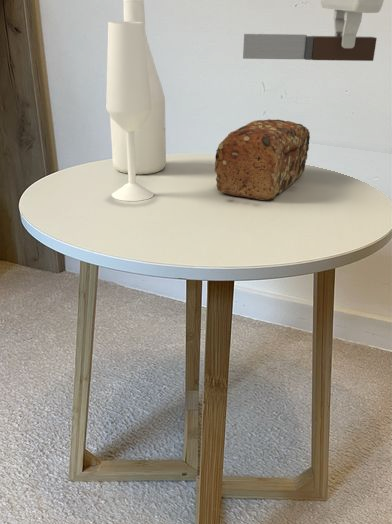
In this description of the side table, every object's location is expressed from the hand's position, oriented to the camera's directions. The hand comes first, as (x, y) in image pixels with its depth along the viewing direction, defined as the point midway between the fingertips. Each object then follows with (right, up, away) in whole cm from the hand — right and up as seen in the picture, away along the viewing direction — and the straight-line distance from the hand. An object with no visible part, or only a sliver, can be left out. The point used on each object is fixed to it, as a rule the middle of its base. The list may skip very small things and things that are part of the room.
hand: (343, 46), depth 87 cm
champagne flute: (-31, -20, +8) cm, 38 cm away
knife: (-6, -2, +1) cm, 6 cm away
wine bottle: (-32, -12, +21) cm, 40 cm away
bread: (-10, -16, +14) cm, 24 cm away
